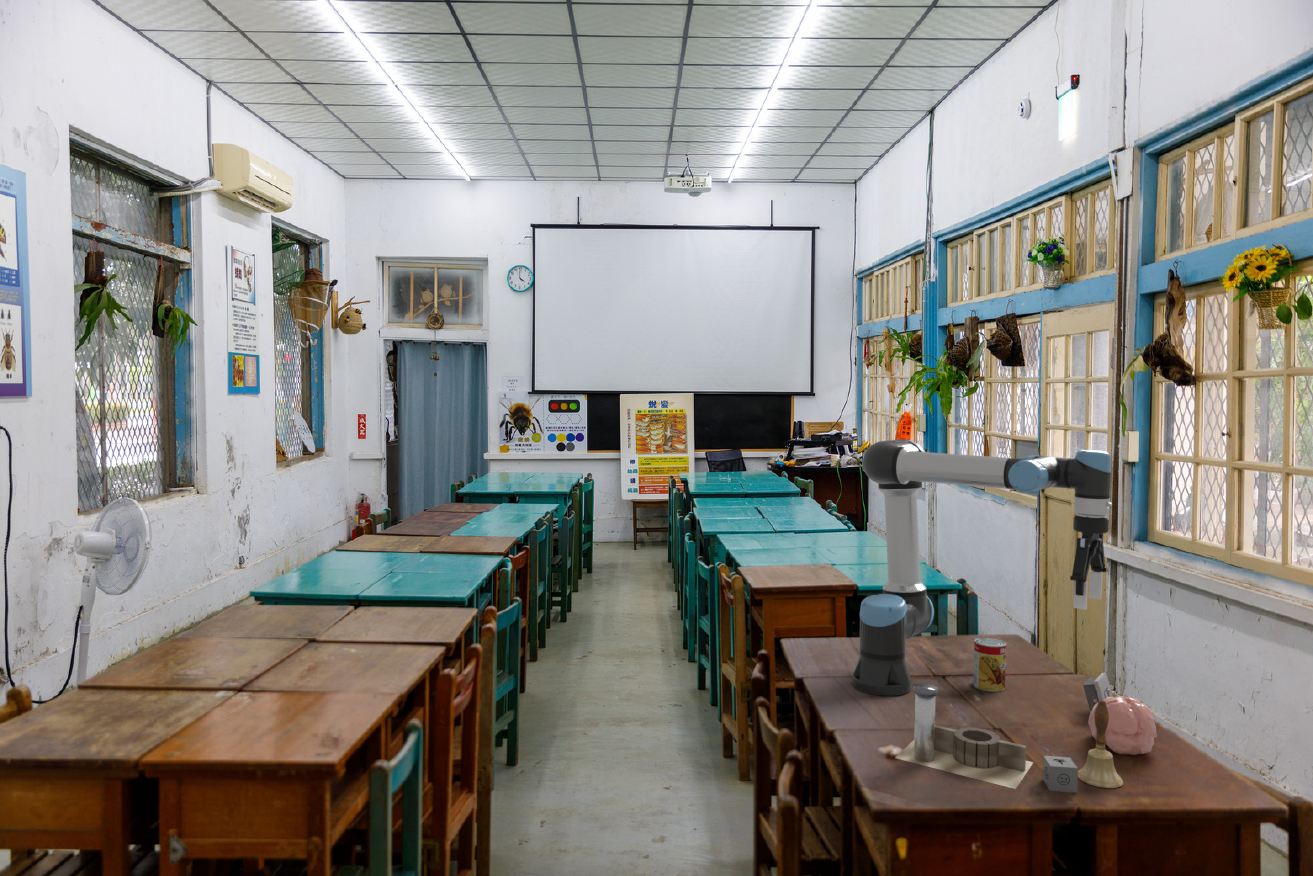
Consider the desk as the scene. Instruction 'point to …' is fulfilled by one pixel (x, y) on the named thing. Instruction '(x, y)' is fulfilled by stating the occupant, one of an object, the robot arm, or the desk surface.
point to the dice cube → (1060, 774)
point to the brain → (1127, 726)
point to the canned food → (989, 664)
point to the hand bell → (1100, 756)
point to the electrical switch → (1097, 689)
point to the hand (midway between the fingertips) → (1087, 603)
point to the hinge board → (968, 771)
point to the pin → (924, 721)
